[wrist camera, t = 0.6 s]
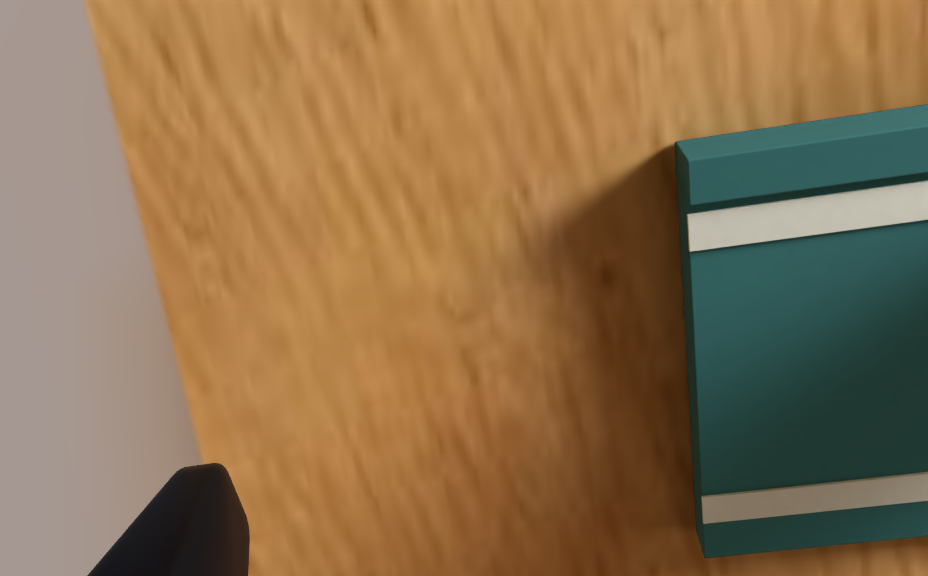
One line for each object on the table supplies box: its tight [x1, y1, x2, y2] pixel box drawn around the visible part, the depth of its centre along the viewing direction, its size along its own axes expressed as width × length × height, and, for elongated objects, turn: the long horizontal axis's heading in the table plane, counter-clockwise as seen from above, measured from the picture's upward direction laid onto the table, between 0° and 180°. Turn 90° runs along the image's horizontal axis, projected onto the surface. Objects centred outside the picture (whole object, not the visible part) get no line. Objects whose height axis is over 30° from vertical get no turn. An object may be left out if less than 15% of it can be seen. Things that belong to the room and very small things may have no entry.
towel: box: [675, 104, 928, 558], centre depth 23 cm, size 13×11×2 cm
